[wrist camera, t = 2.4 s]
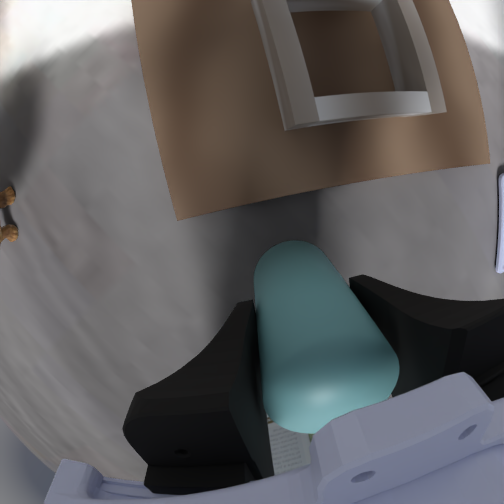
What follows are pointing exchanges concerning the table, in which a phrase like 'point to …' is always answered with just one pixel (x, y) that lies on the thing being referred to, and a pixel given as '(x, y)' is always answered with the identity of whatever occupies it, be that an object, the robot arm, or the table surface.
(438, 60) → the socket board
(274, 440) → the syrup box
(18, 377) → the table surface
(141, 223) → the table surface
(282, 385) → the peg
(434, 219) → the table surface
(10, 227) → the lion figurine
